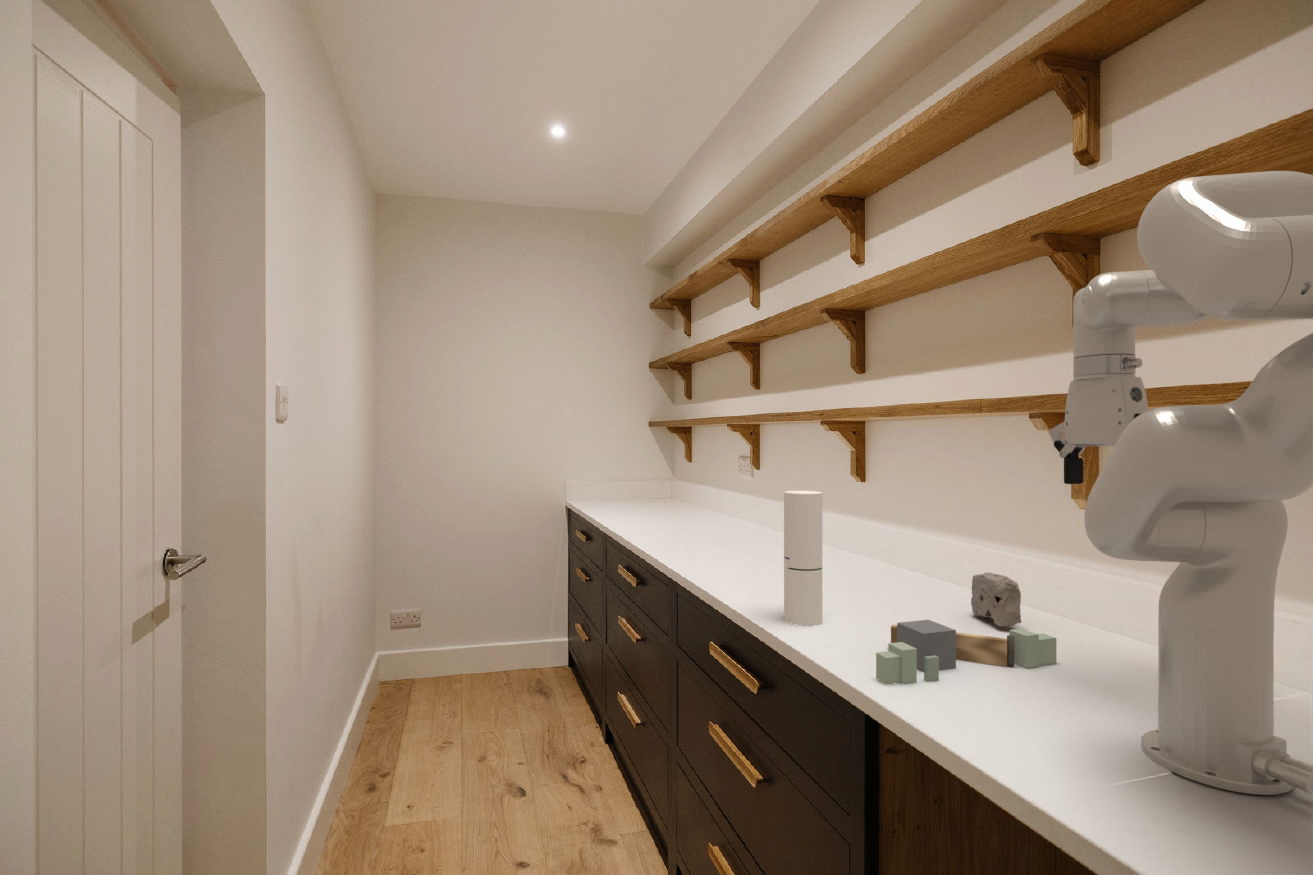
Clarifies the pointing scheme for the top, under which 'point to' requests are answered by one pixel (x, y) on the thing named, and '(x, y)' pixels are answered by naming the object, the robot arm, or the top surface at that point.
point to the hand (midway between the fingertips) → (1103, 486)
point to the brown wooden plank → (979, 648)
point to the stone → (996, 598)
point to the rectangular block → (929, 641)
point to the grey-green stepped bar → (903, 658)
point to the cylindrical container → (803, 557)
